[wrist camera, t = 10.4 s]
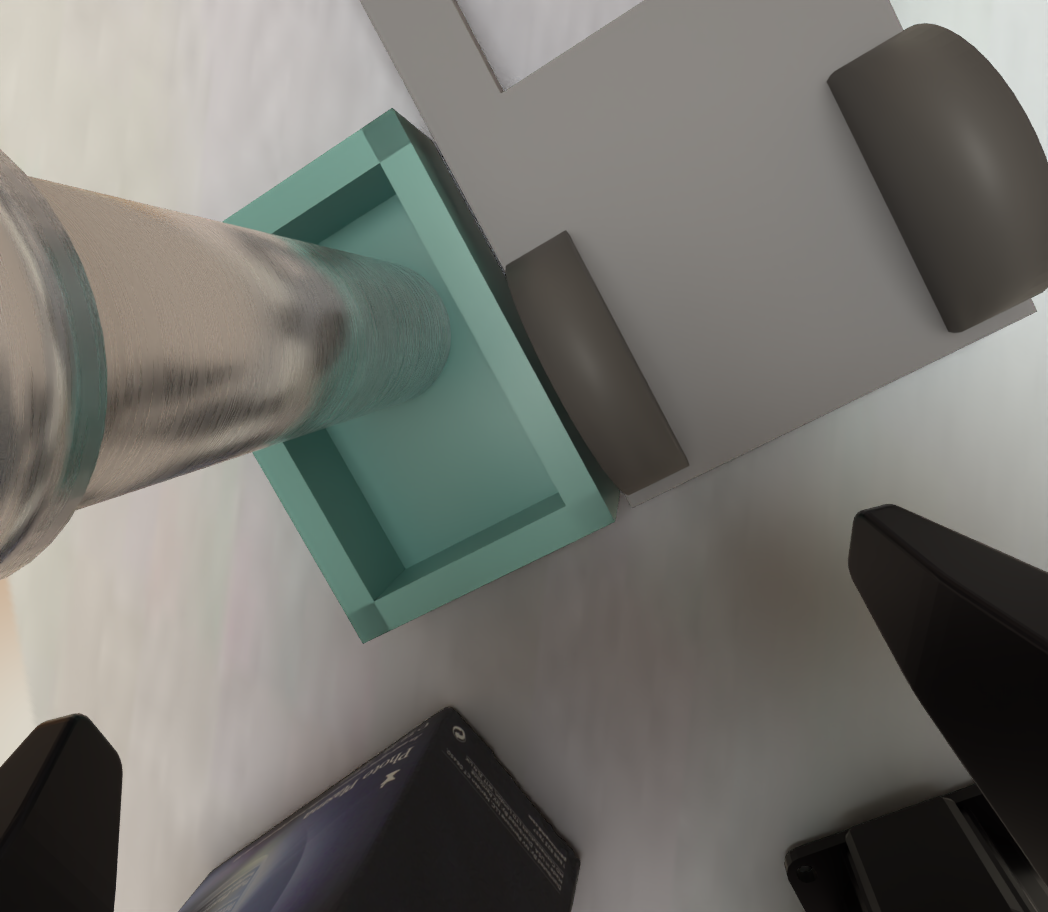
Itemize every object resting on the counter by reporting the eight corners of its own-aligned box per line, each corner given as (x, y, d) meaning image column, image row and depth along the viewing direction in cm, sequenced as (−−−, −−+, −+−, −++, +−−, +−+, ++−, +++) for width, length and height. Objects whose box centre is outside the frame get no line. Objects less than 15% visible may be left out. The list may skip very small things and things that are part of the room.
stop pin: (501, 322, 19) (120, 325, 5) (396, 454, 20) (-157, 747, 6) (367, 207, 19) (-369, -98, 5) (268, 344, 20) (-564, 394, 6)
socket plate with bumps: (983, 312, 18) (1133, 309, 12) (633, 484, 20) (627, 548, 14) (663, -352, 16) (670, -691, 11) (324, -95, 18) (187, -271, 13)
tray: (620, 491, 20) (615, 521, 17) (402, 599, 21) (362, 643, 18) (432, 140, 19) (392, 107, 16) (219, 278, 20) (148, 271, 17)
